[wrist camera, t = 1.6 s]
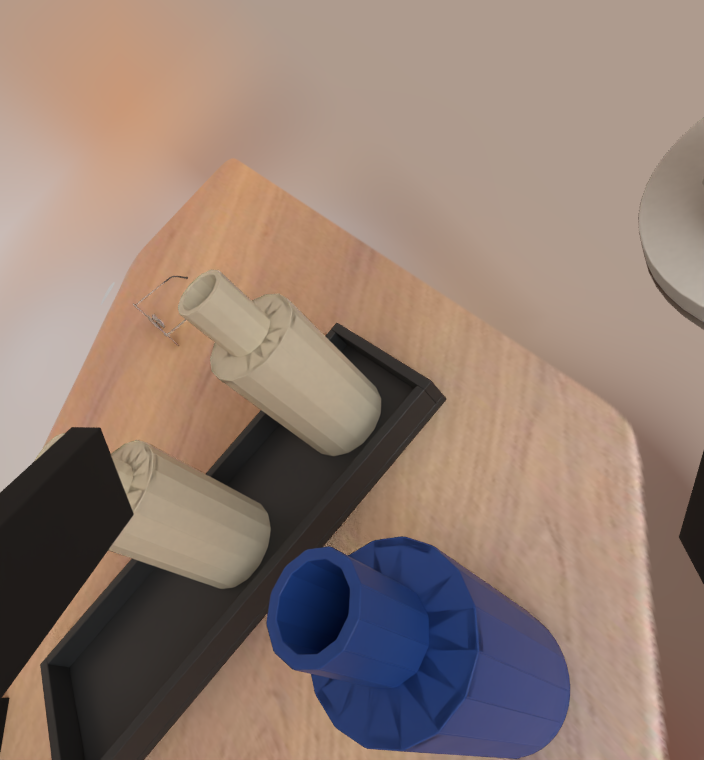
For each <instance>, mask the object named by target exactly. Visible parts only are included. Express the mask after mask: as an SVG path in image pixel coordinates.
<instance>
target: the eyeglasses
mask: <svg viewBox="0 0 704 760" xmlns="http://www.w3.org/2000/svg"><path fill="white" fill-rule="evenodd" d="M172 277H180V278H185V279H188V277H182V276H172ZM172 277H170V278H168V279H167V280H166V281H168V280H169V279H171V278H172ZM166 281H164V282H163V283H162V284H164V283H165V282H166ZM162 284H161V285H162ZM161 285H160V286H161ZM160 286H158V287H157V288H159V287H160ZM157 288H156V289H157ZM156 289H155V290H156ZM155 290H153V291H152V292H151V293H153V292H154V291H155ZM151 293H149V294H148V295H147V296H146V297H148V296H149V295H150V294H151ZM146 297H144V298H143V299H142V300H140V301H139V302H138V303H137V304H136V305H135V304H134V303H133V305H134V306H135V307H136V308H137V309H138V310H139V311H141V312H142V313H143V314H144V315H145V316H146V317H148V319H149V320H150V321H151V322H152V323H153V324H154V325H155V326H156V327H157V328H158V329H160V330H161V331H162V332H163V333H164V335H165V336H168V337H169V335H170V334H171V333H172V332H173V331H175V330H176V329H177V328H178V327H179V326H180V325H182V324H183V323H184V322H185V321H186V319H185V320H184V321H183V322H181V323H180V324H179V325H178V326H176V327H175V328H174V329H173V330H172V331H170V332H169V333H168V334H166V333H165V332H164V331H163V330H162V329H161V328H160V327H159V325H158V324H157V323H159V324H160V325H161V326H162V327H163V328H165V325H164V323H163V322H162V321H161V320H160V319H158V318H157V316H156V315H155V314H153V315H152V317H153V318H152V319H151V318H150V316H147V315H146V314H145V313H144V312H143V311H142V310H140V309H139V308H138V307H137V305H138V304H139V303H140V302H141V301H143V300H144V299H145V298H146ZM153 319H154V320H155V321H156V323H155V322H154V321H152V320H153ZM169 338H170V337H169ZM170 339H171V338H170ZM171 340H172V339H171ZM172 341H173V340H172ZM173 342H174V343H176V342H175V341H173ZM176 344H177V343H176ZM177 345H178V344H177ZM178 346H179V345H178Z"/></svg>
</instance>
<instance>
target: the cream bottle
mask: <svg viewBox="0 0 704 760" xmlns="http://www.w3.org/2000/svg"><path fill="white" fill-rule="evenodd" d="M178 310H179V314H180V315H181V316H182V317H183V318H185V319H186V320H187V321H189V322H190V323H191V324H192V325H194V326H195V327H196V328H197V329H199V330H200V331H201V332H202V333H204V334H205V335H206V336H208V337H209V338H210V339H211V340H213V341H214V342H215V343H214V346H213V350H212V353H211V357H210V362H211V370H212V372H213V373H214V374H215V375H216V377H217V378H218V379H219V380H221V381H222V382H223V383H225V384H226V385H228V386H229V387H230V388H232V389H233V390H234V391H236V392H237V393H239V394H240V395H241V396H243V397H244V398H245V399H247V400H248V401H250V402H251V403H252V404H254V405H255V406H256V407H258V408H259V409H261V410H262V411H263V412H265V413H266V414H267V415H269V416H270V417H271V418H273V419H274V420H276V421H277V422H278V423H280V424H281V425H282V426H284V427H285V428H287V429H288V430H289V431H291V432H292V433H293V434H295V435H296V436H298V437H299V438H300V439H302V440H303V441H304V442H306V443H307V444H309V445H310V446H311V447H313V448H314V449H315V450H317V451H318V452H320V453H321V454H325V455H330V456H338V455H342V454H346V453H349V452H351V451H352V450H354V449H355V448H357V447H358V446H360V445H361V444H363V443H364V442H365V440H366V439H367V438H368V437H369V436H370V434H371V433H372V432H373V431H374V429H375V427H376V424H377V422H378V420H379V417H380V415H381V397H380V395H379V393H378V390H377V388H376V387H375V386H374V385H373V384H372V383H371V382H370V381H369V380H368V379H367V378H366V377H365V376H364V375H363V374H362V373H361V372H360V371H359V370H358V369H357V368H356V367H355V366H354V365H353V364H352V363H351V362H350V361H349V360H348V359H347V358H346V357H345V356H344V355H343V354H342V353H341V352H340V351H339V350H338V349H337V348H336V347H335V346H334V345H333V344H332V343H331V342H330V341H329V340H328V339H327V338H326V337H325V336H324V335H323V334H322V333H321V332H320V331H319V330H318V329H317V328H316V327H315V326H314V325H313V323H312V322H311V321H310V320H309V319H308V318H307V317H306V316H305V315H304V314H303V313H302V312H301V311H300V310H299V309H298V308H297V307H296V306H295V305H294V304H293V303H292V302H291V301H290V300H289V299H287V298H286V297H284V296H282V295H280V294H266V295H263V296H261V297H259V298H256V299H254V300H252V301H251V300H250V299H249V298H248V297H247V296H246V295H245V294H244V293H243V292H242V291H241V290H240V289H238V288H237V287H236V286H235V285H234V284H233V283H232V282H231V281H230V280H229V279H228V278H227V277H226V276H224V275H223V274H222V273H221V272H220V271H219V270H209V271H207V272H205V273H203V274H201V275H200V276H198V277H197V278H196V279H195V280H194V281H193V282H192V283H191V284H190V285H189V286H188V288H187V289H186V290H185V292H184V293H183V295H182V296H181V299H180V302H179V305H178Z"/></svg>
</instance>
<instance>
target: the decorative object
mask: <svg viewBox="0 0 704 760" xmlns="http://www.w3.org/2000/svg"><path fill="white" fill-rule="evenodd" d="M8 703H9V698H1V699H0V750H1V744H2V738H3V732H4V726H5V720H6V714H7V708H8Z"/></svg>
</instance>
